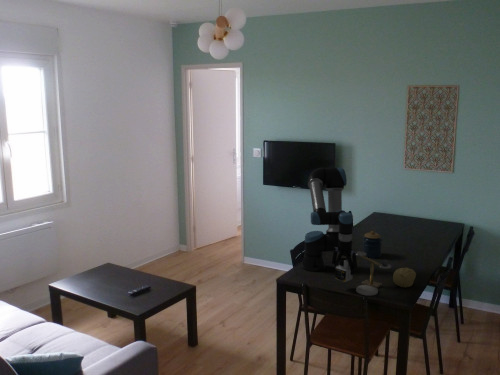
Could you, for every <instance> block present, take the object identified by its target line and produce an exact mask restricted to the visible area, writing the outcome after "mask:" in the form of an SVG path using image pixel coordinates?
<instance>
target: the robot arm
mask: <svg viewBox="0 0 500 375" xmlns="http://www.w3.org/2000/svg"><path fill="white" fill-rule="evenodd" d="M347 180H348V179H347V174H346V171H345V169H344V168H343V167H319V168H316V169H314V170H313V171H312V172H311V173H310V174H309V176H308V178H307V187H308V189H309V191H310V197H311V206H312V212H310V224H311V225H312V226H314V225H315V226H328V227H327V228H328V229H326V230H325V233H324V232H323V230H313V231H308V232H307V233H306V234H305V235H304V256H303V259H302V262H301V268H302V269H303V270H305V271H310V272H319V271H323V270H325V269H326V263H325V259H324V253H332V261H331V264H332V265H334V271H336V267H338V266H339V259H341V258H343V256H344V257H345V258H347V260H348V263H349V266H350V269H349V281H351V280H353V275H354V274H355V272H354V271H355V270H356V269H358V261H357V260H358V259H357V256H356V254H357V251H356V250H353V248H352V246H353V228H354V227H353V226H354V225H353V224H354V216H353V213H351V212H346V211H345V210H344V209H343V200H342V198H343V197H342V195H343V194H342V191H343V190H344V189H345V187H346V186H347ZM323 187H325V190H326V191H327V196H328V197H327V199H328V200H327V201H328V202H327V204H328V205H327V206H328V207H327V209H328V211H327V209H326V202H325V196H324V191H323Z"/></svg>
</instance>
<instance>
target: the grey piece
mask: <svg viewBox="0 0 500 375" xmlns="http://www.w3.org/2000/svg"><path fill="white" fill-rule="evenodd" d="M338 265H339V266H338V267H336V270H335V274H334V276H335V280H338V281H341V282H344V283H347V282H348V281H350V280H349V269H350V266H349V263H348V260H347V258H346V257H341V259H339V264H338Z"/></svg>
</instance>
